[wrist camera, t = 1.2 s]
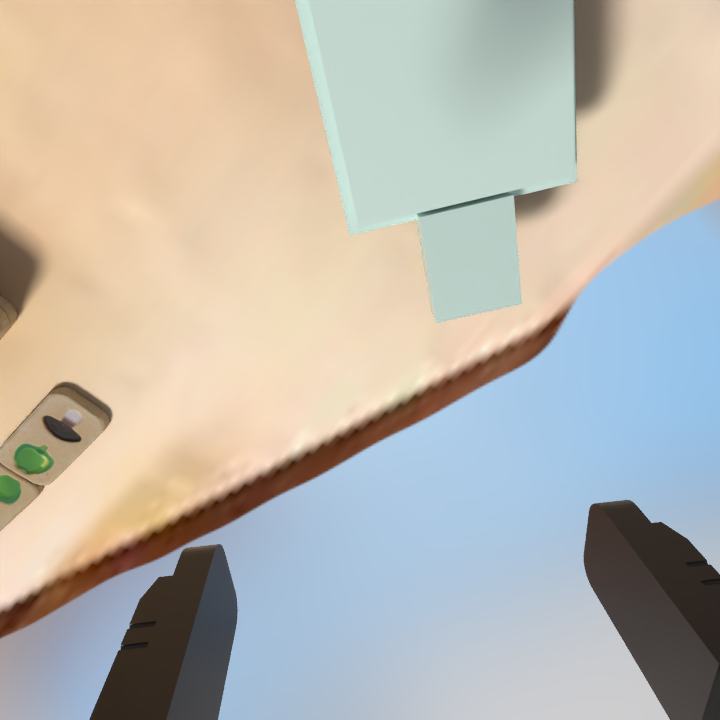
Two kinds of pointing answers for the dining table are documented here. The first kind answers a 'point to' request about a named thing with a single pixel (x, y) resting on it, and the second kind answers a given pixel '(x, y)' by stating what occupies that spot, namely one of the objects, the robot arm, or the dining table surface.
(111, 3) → the dining table surface
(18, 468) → the pile of dominoes
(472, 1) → the lid
